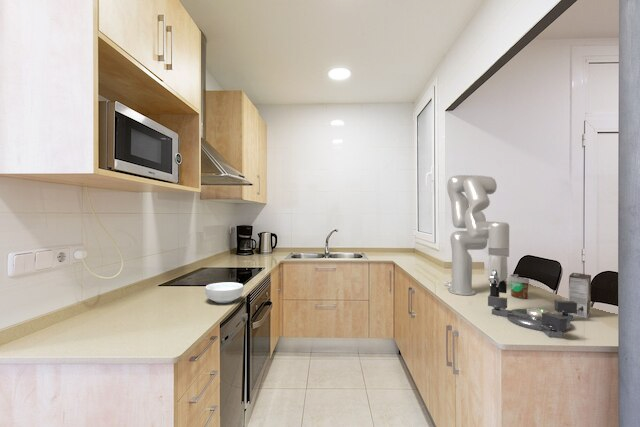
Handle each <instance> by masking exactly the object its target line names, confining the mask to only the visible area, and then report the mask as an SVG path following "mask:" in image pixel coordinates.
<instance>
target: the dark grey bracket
mask: <svg viewBox="0 0 640 427" xmlns="http://www.w3.org/2000/svg"><path fill="white" fill-rule="evenodd" d="M487 306H488V307H491V308H501V309H506V310H507V308H508V297H504V296H500V295H499V297H493V296H490V294H489V295H488V296H487Z"/></svg>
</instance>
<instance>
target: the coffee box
mask: <svg viewBox="0 0 640 427" xmlns="http://www.w3.org/2000/svg"><path fill="white" fill-rule="evenodd" d="M568 279H569V280H568V301H574V302H576V303H577V314H575V313H571V314H570V315H573V317H574V316H575V317H580V318H586V319H587V318H589V316H590V314H591V305H592V304H591V302H592V301H591V298H592V297H591V295H592V293H591V292H592V275H591V274H585V273H580V272H579V273H578V272H572V273H571V274H569V276H568ZM568 314H569V313H568Z"/></svg>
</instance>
